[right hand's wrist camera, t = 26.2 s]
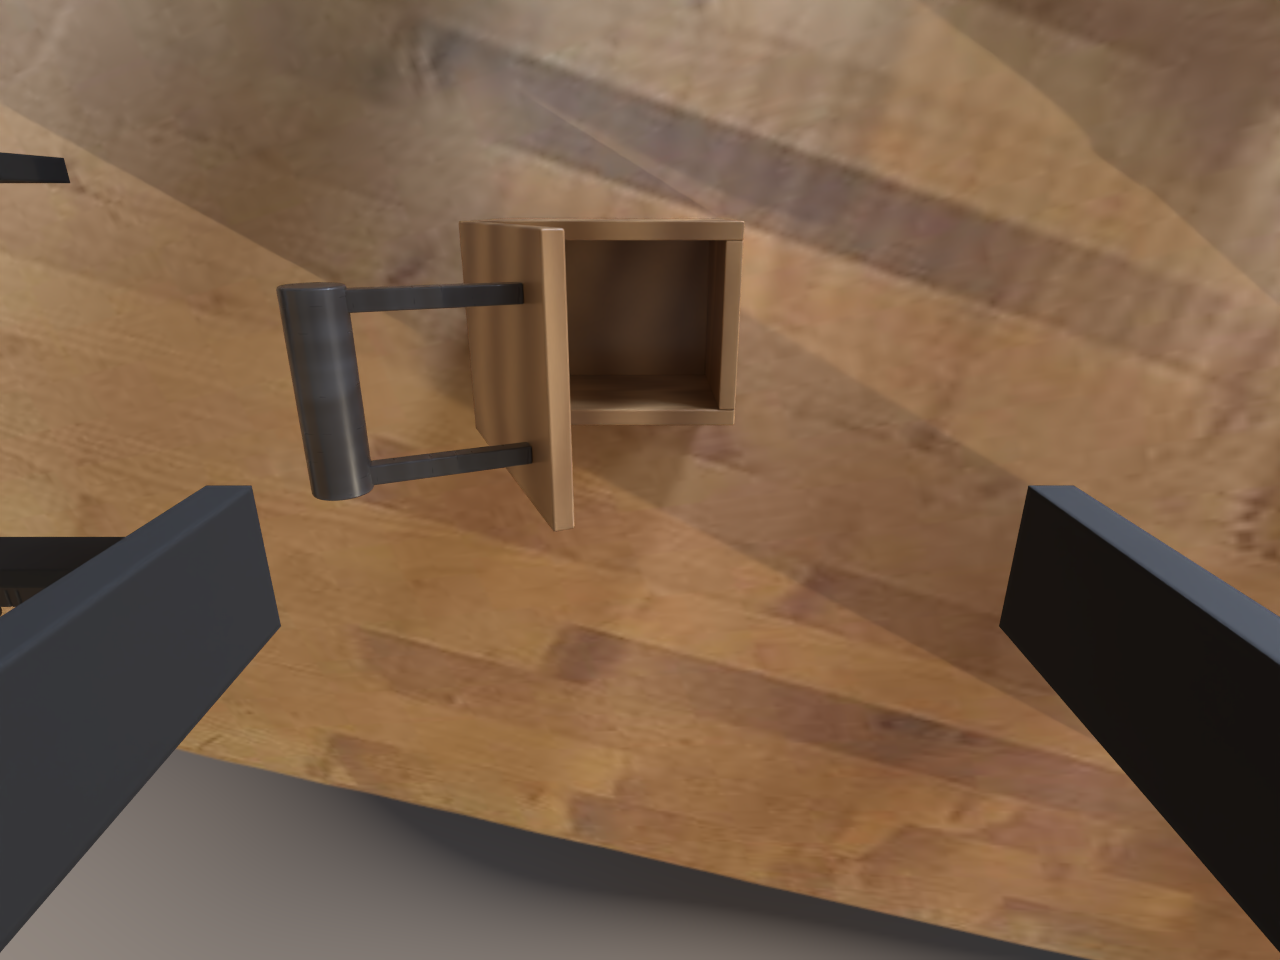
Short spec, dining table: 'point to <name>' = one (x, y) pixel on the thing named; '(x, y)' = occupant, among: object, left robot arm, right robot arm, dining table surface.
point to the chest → (651, 318)
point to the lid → (499, 356)
